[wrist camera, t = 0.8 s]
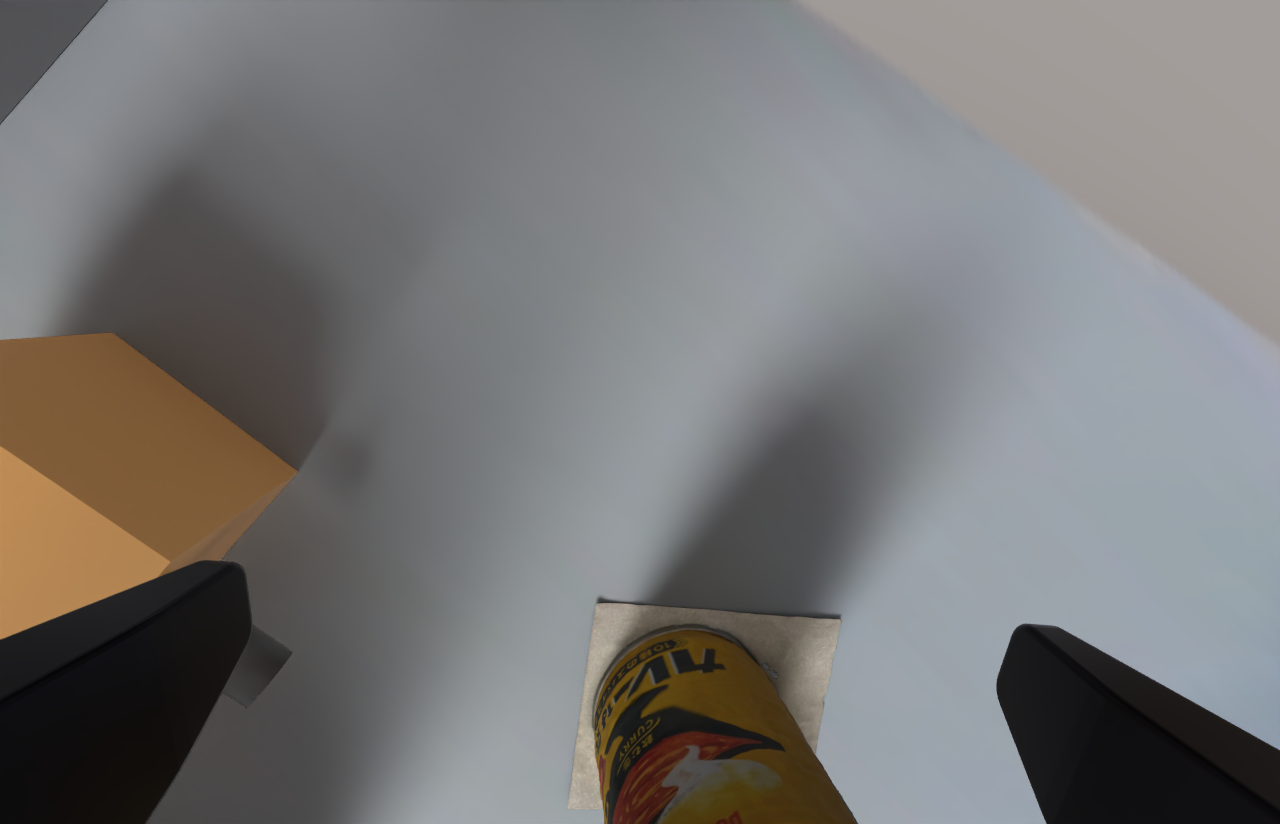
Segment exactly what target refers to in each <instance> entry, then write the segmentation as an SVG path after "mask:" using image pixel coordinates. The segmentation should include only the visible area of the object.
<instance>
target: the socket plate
mask: <svg viewBox="0 0 1280 824" xmlns="http://www.w3.org/2000/svg"><path fill="white" fill-rule="evenodd" d="M106 1H107V0H0V123H1V122H2V121H3V120H4V119H5V117H6V116H7V115H8V114H9V113H10V112H11V111H12V109H13V108H14V107H15V106H16V105H17V104H18V102H19V101H20V100H21V99H22V98H23V97H24V96H25V94H26V93H27V92H28V91H29V90H30V89H31V87H32V86H33V85H34V84H35V83H36V82H37V81H38V79H39V78H40V77H41V76H42V75H43V74H44V72H45V71H46V70H47V69H48V68H49V67H50V66H51V64H52V63H53V62H54V61H55V60H56V59H57V58H58V56H59V55H60V54H61V53H62V52H63V51H64V49H65V48H66V47H67V46H68V45H69V44H70V43H71V41H72V40H73V39H74V38H75V37H76V36H77V34H78V33H79V32H80V31H81V30H82V29H83V28H84V26H85V25H86V24H87V23H88V22H89V21H90V19H91V18H92V17H93V16H94V15H95V14H96V13H97V11H98V10H99V9H100V8H101V7H102V6H103V4H104V3H105V2H106Z"/></svg>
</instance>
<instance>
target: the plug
mask: <svg viewBox="0 0 1280 824" xmlns="http://www.w3.org/2000/svg"><path fill="white" fill-rule="evenodd" d="M297 473H298V471H297V470H295V469H294V468H293V467H291V466H290V465H289V464H287V463H286V462H285V461H283V460H282V459H281V458H279V457H278V456H277V455H275V454H274V453H273V452H271V451H270V450H269V449H267V448H266V447H265V446H263V445H262V444H261V443H259V442H258V441H257V440H255V439H254V438H253V437H251V436H250V435H249V434H247V433H246V432H245V431H243V430H242V429H241V428H239V427H238V426H237V425H235V424H234V423H233V422H231V421H230V420H229V419H227V418H226V417H225V416H223V415H222V414H221V413H219V412H218V411H217V410H215V409H214V408H213V407H211V406H210V405H209V404H207V403H206V402H205V401H203V400H202V399H201V398H199V397H198V396H197V395H195V394H194V393H193V392H191V391H190V390H189V389H187V388H186V387H184V386H183V385H182V384H180V383H179V382H178V381H176V380H175V379H174V378H172V377H171V376H170V375H168V374H167V373H166V372H164V371H163V370H162V369H160V368H159V367H158V366H156V365H155V364H154V363H152V362H151V361H150V360H148V359H147V358H146V357H144V356H143V355H142V354H140V353H139V352H138V351H136V350H135V349H134V348H132V347H131V346H130V345H128V344H127V343H126V342H124V341H123V340H122V339H120V338H119V337H118V336H116V335H115V334H114V333H98V334H83V335H68V336H53V337H39V338H24V339H9V340H0V639H3V638H5V637H8V636H10V635H13V634H15V633H18V632H20V631H23V630H25V629H28V628H31V627H33V626H36V625H38V624H41V623H43V622H46V621H48V620H51V619H53V618H56V617H58V616H61V615H63V614H66V613H69V612H71V611H74V610H76V609H79V608H81V607H84V606H86V605H89V604H91V603H94V602H96V601H99V600H101V599H104V598H107V597H109V596H112V595H114V594H117V593H119V592H122V591H124V590H127V589H129V588H132V587H134V586H137V585H139V584H142V583H145V582H147V581H150V580H152V579H155V578H157V577H160V576H162V575H165V574H167V573H170V572H172V571H175V570H177V569H180V568H183V567H185V566H188V565H190V564H193V563H195V562H198V561H202V560H213V561H219V560H220V559H221V558H222V557H223V556H224V555H225V554H226V553H227V551H228V550H229V549H230V548H231V547H232V546H233V545H234V544H235V542H236V541H237V540H238V539H239V538H240V537H241V536H242V535H243V533H244V532H245V531H246V530H247V529H248V528H249V527H250V526H251V524H252V523H253V522H254V521H255V520H256V519H257V518H258V517H259V515H260V514H261V513H262V512H263V511H264V510H265V509H266V508H267V506H268V505H269V504H270V503H271V502H272V501H273V500H274V499H275V497H276V496H277V495H278V494H279V493H280V492H281V491H282V490H283V488H284V487H285V486H286V485H287V484H288V483H289V482H290V481H291V479H292V478H293V477H294V476H295V475H296V474H297ZM292 652H293V651H291V650H290V649H288V648H287V647H285V646H284V645H282V644H281V643H279V642H278V641H276V640H275V639H273V638H272V637H270V636H269V635H267V634H266V633H264V632H263V631H262V630H260V629H259V628H257V627H256V626H254V625H253V624H252V631H251V636H250V639H249V642H248V644H247V646H246V648H245V650H244V652H243V654H242V656H241V658H240V660H239V662H238V664H237V666H236V667H235V669H234V671H233V673H232V675H231V677H230V679H229V681H228V683H227V684H226V686H225V688H224V690H223V692H222V693H224V694H225V695H227V696H228V697H230V698H231V699H233V700H235V701H236V702H238V703H239V704H241V705H242V706H244V707H245V708H247V707H248V706H249V705H250V704H251V703H252V702H253V701H254V700H255V699H256V698H257V696H258V695H259V694H260V693H261V692H262V691H263V690H264V688H265V687H266V686H267V685H268V684H269V682H270V681H271V680H272V679H273V678H274V676H275V675H276V674H277V673H278V671H279V670H280V669H281V668H282V666H283V665H284V664H285V663H286V661H287V660H288V659H289V657H290V656H291V654H292Z"/></svg>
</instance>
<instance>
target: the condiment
mask: <svg viewBox="0 0 1280 824" xmlns="http://www.w3.org/2000/svg"><path fill="white" fill-rule="evenodd" d="M840 624H841V620H838V619H817V618H808V617H785V616H775V615H766V614H764V615H758V614H751V613H737V612H728V611H719V610H708V609H692V608H678V607H663V606H652V605H633V604H621V603H600V604H597V603H596V607H595V613H594V621H593V628H592V635H591V639H590V648H589V655H588V661H587V668H586V675H585V682H584V689H583V696H582V704H581V711H580V719H579V726H578V733H577V740H576V748H575V756H574V767H573V772H572V779H571V786H570V794H569V801H568V807H567V809H580V810H584V809H603V810H604V824H858V823H857V821H856V819H855V818H854V816H853V814H852V812H851V811H850V809H849V808H848V806H847V804H846V803H845V801H844V800H843V798H842V796H841V794H840V793H839V791H838V790H837V789H836V787H835V786H834V784H833V783H832V781H831V779H830V778H829V776H828V774H827V772H826V771H825V769H824V767H823V765H822V764H821V763H820V761H819V760H818V758H817V757H816V755H815V753H816V746H817V739H818V733H819V728H820V723H821V719H822V714H823V708H824V702H823V699H824V697H825V695H826V692H827V688H828V684H829V679H830V675H831V668H832V661H833V655H834V651H835V649H836V645H837V640H838V635H839V629H840ZM763 662H765V663H767V665H768V666H769V670H764V668H763V666H762V665H763ZM770 670H774V671H775V672H776V673H778V678H776V679H775V678H774V677H772V676H771V674H770Z"/></svg>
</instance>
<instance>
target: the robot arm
mask: <svg viewBox="0 0 1280 824" xmlns="http://www.w3.org/2000/svg"><path fill="white" fill-rule="evenodd" d="M251 631H252V615H251V608H250V601H249V593H248V586H247V578H246V573H245V570H244V569H243V567H242V566H241V565H240V564H238V563H236V562H226V561H213V560H202V561H198V562H195V563H193V564H190V565H188V566H185V567H183V568H180V569H177V570H175V571H172V572H170V573H167V574H165V575H162V576H160V577H157V578H155V579H152V580H150V581H147V582H145V583H142V584H139V585H137V586H134V587H132V588H129V589H127V590H124V591H122V592H119V593H117V594H114V595H112V596H109V597H107V598H104V599H101V600H99V601H96V602H94V603H91V604H89V605H86V606H84V607H81V608H79V609H76V610H74V611H71V612H69V613H66V614H63V615H61V616H58V617H56V618H53V619H51V620H48V621H46V622H43V623H41V624H38V625H36V626H33V627H31V628H28V629H25V630H23V631H20V632H18V633H15V634H13V635H10V636H8V637H5V638H3V639H0V824H146V823H147V821H148V820H149V818H150V817H151V815H152V814H153V812H154V811H155V809H156V808H157V806H158V805H159V803H160V802H161V800H162V799H163V797H164V796H165V794H166V792H167V791H168V789H169V788H170V786H171V784H172V783H173V781H174V780H175V778H176V776H177V775H178V773H179V772H180V770H181V768H182V766H183V765H184V763H185V761H186V759H187V758H188V756H189V754H190V752H191V751H192V749H193V747H194V745H195V743H196V741H197V739H198V737H199V736H200V734H201V732H202V730H203V728H204V726H205V724H206V722H207V720H208V718H209V717H210V715H211V713H212V711H213V709H214V707H215V705H216V703H217V701H218V700H219V698H220V696H221V694H222V692H223V690H224V688H225V686H226V684H227V683H228V681H229V679H230V677H231V675H232V673H233V671H234V669H235V667H236V666H237V664H238V662H239V660H240V658H241V656H242V654H243V652H244V650H245V648H246V646H247V644H248V642H249V639H250V636H251ZM997 695H998V700H999V703H1000V706H1001V708H1002V711H1003V713H1004V716H1005V719H1006V721H1007V724H1008V726H1009V729H1010V731H1011V734H1012V737H1013V739H1014V742H1015V744H1016V747H1017V750H1018V752H1019V755H1020V757H1021V760H1022V763H1023V765H1024V768H1025V770H1026V773H1027V775H1028V778H1029V781H1030V783H1031V786H1032V788H1033V791H1034V794H1035V796H1036V799H1037V801H1038V804H1039V807H1040V809H1041V811H1042V814H1043V816H1044V819H1045V821H1046V823H1047V824H1280V750H1278V749H1277V748H1275V747H1273V746H1271V745H1269V744H1268V743H1266V742H1264V741H1262V740H1260V739H1259V738H1257V737H1255V736H1253V735H1251V734H1250V733H1248V732H1246V731H1244V730H1242V729H1241V728H1239V727H1237V726H1235V725H1233V724H1232V723H1230V722H1228V721H1226V720H1225V719H1223V718H1221V717H1219V716H1217V715H1216V714H1214V713H1212V712H1210V711H1208V710H1207V709H1205V708H1203V707H1201V706H1199V705H1198V704H1196V703H1194V702H1192V701H1190V700H1189V699H1187V698H1185V697H1183V696H1181V695H1180V694H1178V693H1176V692H1174V691H1172V690H1171V689H1169V688H1167V687H1165V686H1164V685H1162V684H1160V683H1158V682H1156V681H1155V680H1153V679H1151V678H1149V677H1147V676H1146V675H1144V674H1142V673H1140V672H1138V671H1137V670H1135V669H1133V668H1131V667H1129V666H1128V665H1126V664H1124V663H1122V662H1120V661H1119V660H1117V659H1115V658H1113V657H1111V656H1110V655H1108V654H1106V653H1104V652H1102V651H1101V650H1099V649H1097V648H1095V647H1094V646H1092V645H1090V644H1088V643H1086V642H1085V641H1083V640H1081V639H1079V638H1077V637H1076V636H1074V635H1072V634H1070V633H1068V632H1067V631H1065V630H1063V629H1061V628H1059V627H1056V626H1051V625H1037V624H1022V625H1020V626H1018V627H1017V628H1016V629H1015V630H1014V632H1013V634H1012V636H1011V639H1010V642H1009V645H1008V648H1007V651H1006V654H1005V657H1004V660H1003V663H1002V665H1001V668H1000V671H999V674H998V678H997Z"/></svg>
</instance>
